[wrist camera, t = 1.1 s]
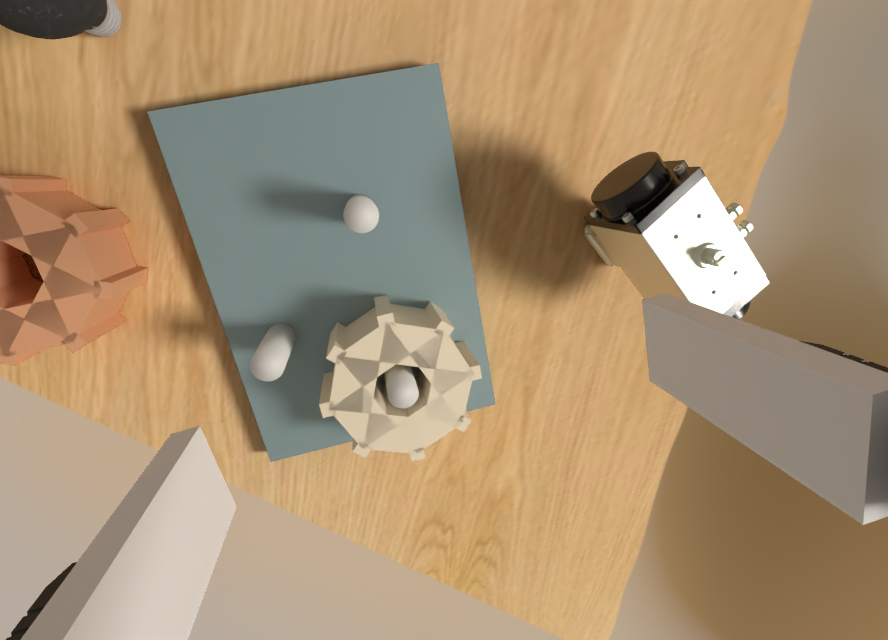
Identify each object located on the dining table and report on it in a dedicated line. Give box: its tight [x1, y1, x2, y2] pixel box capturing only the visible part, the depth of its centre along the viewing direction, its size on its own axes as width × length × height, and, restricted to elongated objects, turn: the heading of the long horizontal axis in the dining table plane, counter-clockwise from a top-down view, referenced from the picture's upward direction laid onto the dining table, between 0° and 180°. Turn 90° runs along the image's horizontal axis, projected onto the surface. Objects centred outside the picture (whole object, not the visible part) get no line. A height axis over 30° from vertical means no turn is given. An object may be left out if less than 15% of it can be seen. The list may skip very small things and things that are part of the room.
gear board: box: [148, 63, 495, 462], centre depth 31 cm, size 25×18×7 cm
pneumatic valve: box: [584, 152, 770, 320], centre depth 31 cm, size 6×12×12 cm, turn 42°
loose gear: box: [0, 175, 148, 366], centre depth 28 cm, size 10×10×5 cm
